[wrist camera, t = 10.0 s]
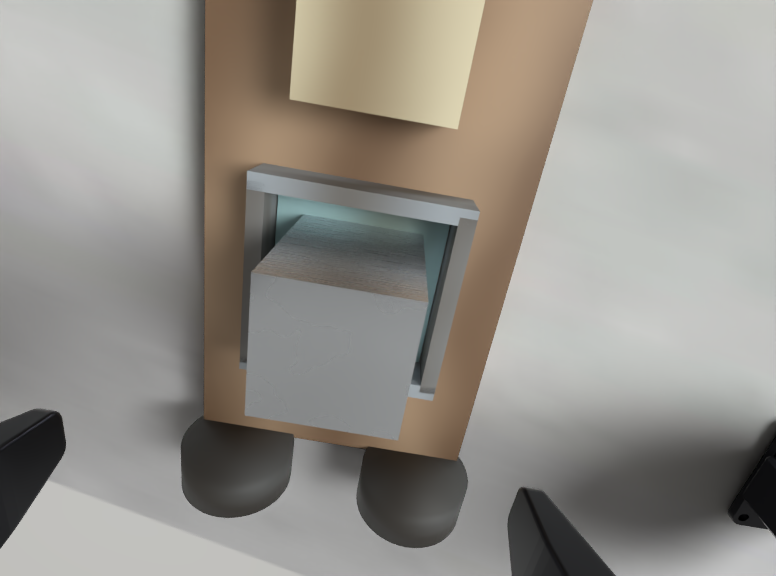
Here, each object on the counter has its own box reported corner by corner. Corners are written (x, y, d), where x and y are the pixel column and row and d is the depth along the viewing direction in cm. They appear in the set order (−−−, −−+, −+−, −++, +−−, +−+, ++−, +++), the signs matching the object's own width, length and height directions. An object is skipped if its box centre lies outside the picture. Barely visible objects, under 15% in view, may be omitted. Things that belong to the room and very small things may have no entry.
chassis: (630, -133, 14) (732, -239, 9) (453, 469, 24) (462, 556, 19) (213, -213, 14) (118, -361, 9) (208, 429, 23) (160, 507, 19)
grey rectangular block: (423, 234, 17) (428, 302, 11) (402, 338, 19) (397, 440, 13) (303, 214, 17) (250, 272, 11) (294, 320, 19) (244, 415, 13)
